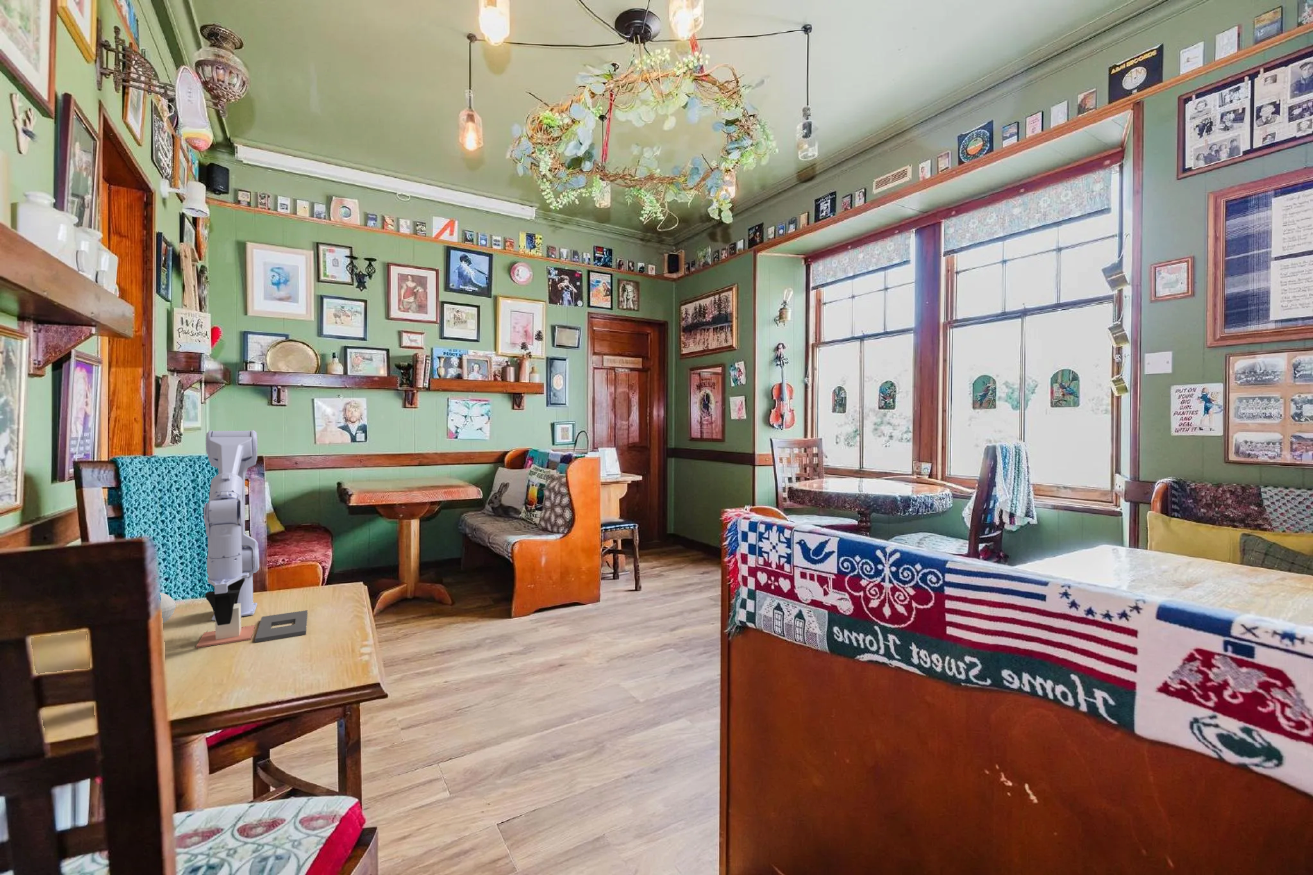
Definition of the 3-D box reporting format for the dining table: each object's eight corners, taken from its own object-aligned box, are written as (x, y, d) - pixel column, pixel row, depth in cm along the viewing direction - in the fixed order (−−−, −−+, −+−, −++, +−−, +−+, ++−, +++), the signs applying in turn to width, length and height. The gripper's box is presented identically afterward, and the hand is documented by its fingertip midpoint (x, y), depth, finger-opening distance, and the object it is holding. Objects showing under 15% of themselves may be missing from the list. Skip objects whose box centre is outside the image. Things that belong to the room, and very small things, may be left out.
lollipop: (126, 686, 99) (124, 600, 99) (138, 673, 105) (136, 591, 104) (172, 678, 102) (170, 595, 102) (181, 666, 107) (179, 586, 107)
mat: (204, 634, 124) (204, 632, 124) (254, 626, 128) (254, 624, 128) (196, 648, 116) (196, 646, 116) (250, 639, 121) (250, 637, 121)
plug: (218, 633, 123) (217, 606, 123) (241, 630, 125) (240, 603, 125) (215, 639, 120) (215, 611, 120) (239, 636, 122) (238, 607, 122)
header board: (262, 620, 133) (261, 616, 133) (307, 613, 137) (307, 610, 137) (255, 642, 119) (255, 638, 119) (305, 634, 124) (305, 630, 124)
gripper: (244, 560, 118) (245, 625, 118) (251, 547, 130) (253, 606, 131) (201, 564, 114) (202, 632, 114) (212, 550, 127) (214, 611, 127)
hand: (226, 618), depth 122 cm, fingers open, 7 cm apart
